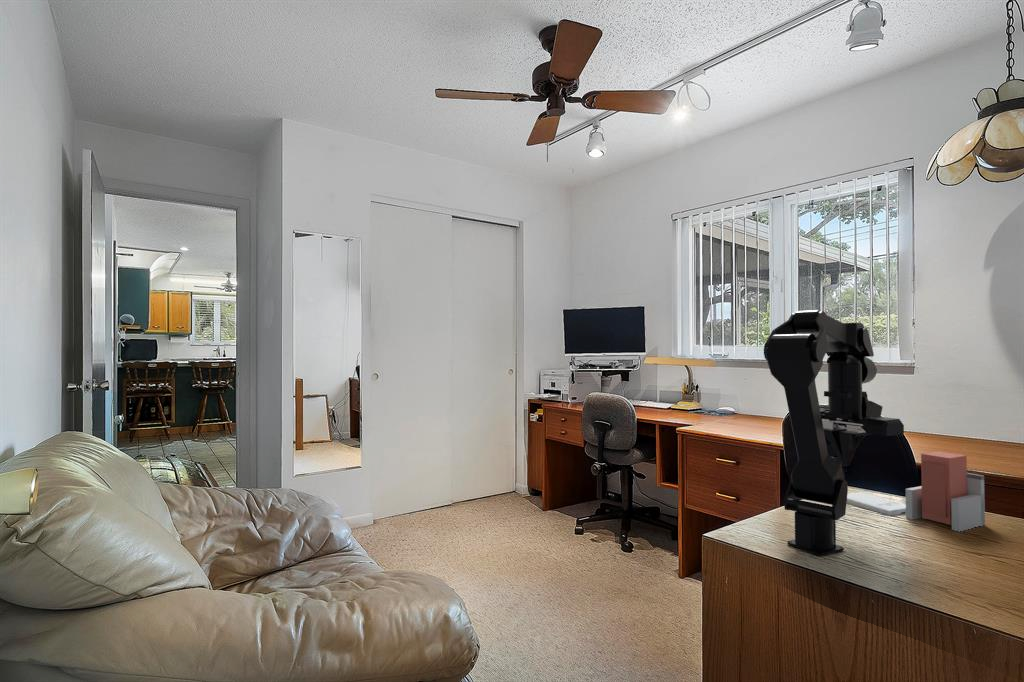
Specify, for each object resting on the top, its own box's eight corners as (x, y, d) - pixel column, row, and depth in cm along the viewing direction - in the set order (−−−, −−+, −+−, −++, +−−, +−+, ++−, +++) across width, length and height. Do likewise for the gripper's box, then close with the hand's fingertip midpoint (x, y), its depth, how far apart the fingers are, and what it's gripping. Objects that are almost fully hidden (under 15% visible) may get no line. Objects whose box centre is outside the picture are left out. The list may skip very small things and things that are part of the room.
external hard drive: (862, 498, 128) (917, 513, 116) (836, 502, 125) (890, 517, 113) (862, 491, 128) (917, 506, 116) (836, 494, 125) (890, 510, 113)
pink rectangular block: (948, 525, 105) (947, 458, 106) (920, 518, 110) (919, 453, 110) (967, 520, 108) (966, 455, 108) (939, 513, 113) (938, 451, 113)
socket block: (959, 532, 103) (958, 480, 103) (906, 518, 112) (905, 470, 112) (985, 525, 107) (984, 475, 107) (931, 512, 115) (931, 466, 115)
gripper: (921, 387, 102) (922, 470, 102) (827, 382, 119) (828, 453, 119) (884, 390, 97) (885, 477, 97) (792, 384, 114) (793, 458, 114)
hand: (846, 465), depth 107 cm, fingers closed
